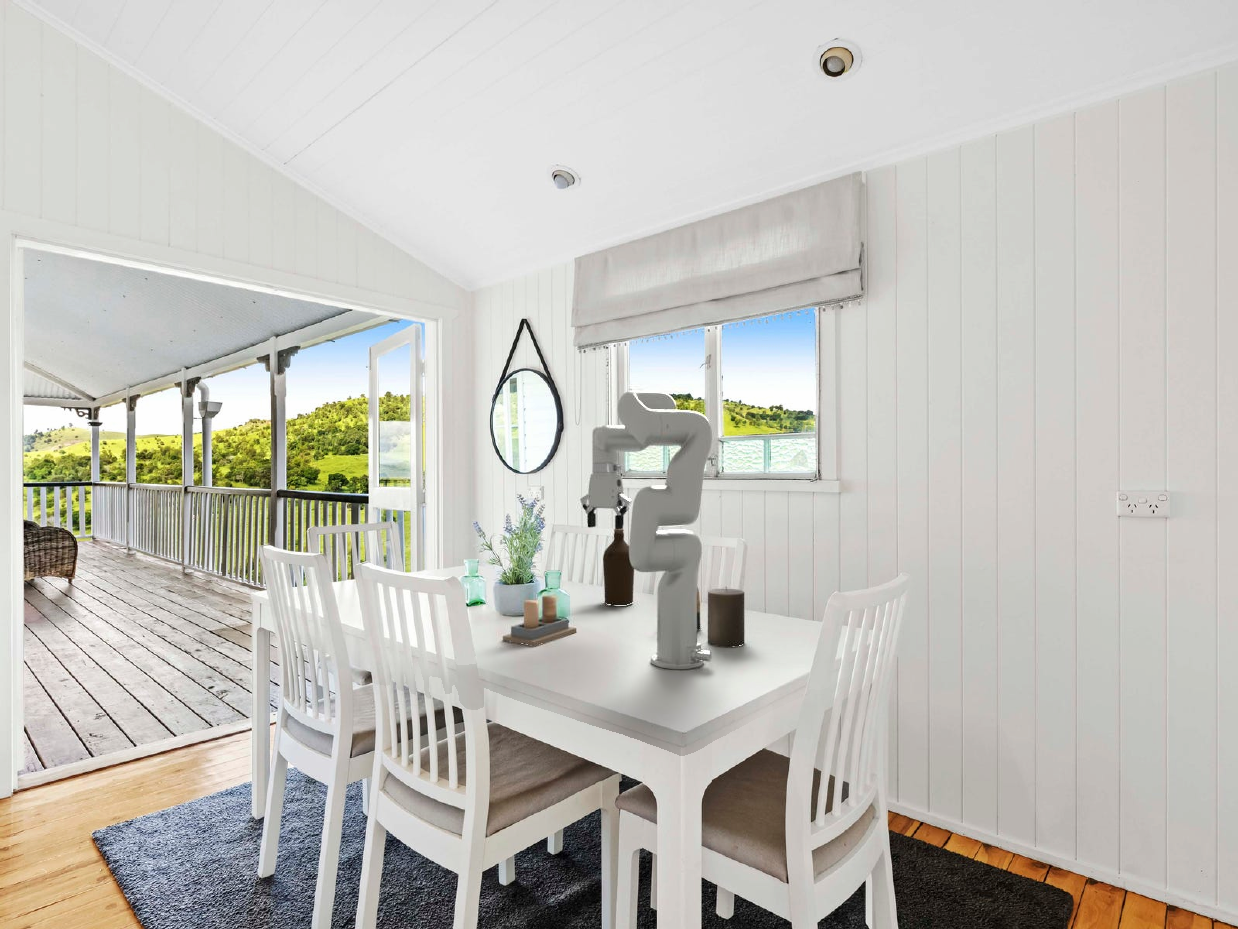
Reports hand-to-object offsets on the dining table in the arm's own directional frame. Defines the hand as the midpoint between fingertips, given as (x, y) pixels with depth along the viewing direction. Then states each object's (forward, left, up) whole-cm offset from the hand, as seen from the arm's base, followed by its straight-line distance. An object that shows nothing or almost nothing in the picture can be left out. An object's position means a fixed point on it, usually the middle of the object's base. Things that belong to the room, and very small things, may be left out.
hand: (605, 527), depth 208 cm
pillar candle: (-38, -1, -29) cm, 48 cm away
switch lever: (+7, +17, -27) cm, 33 cm away
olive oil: (+13, -27, -28) cm, 41 cm away
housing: (+7, +21, -28) cm, 36 cm away
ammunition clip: (-21, -8, -29) cm, 36 cm away
